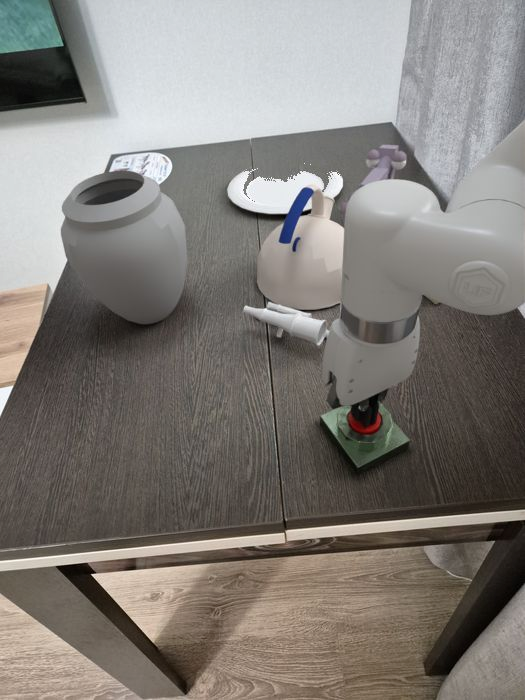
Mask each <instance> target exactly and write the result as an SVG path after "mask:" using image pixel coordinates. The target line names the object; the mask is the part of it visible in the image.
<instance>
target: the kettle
mask: <svg viewBox="0 0 525 700" xmlns="http://www.w3.org/2000/svg"><path fill="white" fill-rule="evenodd" d="M310 197H311V199H312V209H311V211H310V213H308V214H307V215H305V214H304V215H302V213H303V212H302V211H303V209H304V207H305V206H306V204H307V202H308V200H309V199H310ZM335 203H336V201H335V198H334V199H333V198H332V197H329V196H326V195H323V192H322V190H321V188H319V187H318V186H316V185H313V184H311V185H307V186H306V187H304V188H303V189H302V190H301V191H300V193H299V194H298V195H297V197H296V199H295V200H294V202H293V204H292V206H291V208H290V210H289V212H288V214H286V216H285V219H284V222H283V223H280V224H279V225H278V226H277V227H275V228H274V229H273V230H272V231H271V232H270V234H269V235H268V236H267V237H266V239H265V240H264V241H263V242H262V245H261V247H260V250H259V252H258V255H257V261H256V284H257V286H258V289H259V291H260V292H261V294H262V295H263V296H264V297H265V298H266V299H268V300H269V301H270V302H272V303H274V304H277V305H279V304H280V305H281V306H284V307H288V308H291V309H294V310H298V311H314V310H321V309H325V308H327V309H328V308H331V307H333V306H335V305H337V304H340V298H341V283H342V262H343V244H344V227H343V226H342V225H340V224H339V223H337V222H335V221H333V220H331V216H332V211H333V207H334V204H335Z"/></svg>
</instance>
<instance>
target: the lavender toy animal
mask: <svg viewBox="0 0 525 700" xmlns="http://www.w3.org/2000/svg"><path fill="white" fill-rule="evenodd" d="M399 146H400V145H398V144H397V145H396V144H381V145H380V146H379V147H378V150H376V149H370V150H369V151H368V152H367V154H366V155H365V156H366V157H365V158H366V159H365V164H366V166H367V167H368V169H372V170H371V171H370V172H369V173H368V175H366V177H365V178H364V179H363V180H362V181H361V182H360V183H359V184H358V186H357V188H356V190H355V191H352V192H351V193H350V194H349V195H348V198H347V201H344V202H343V203H342V204H341V206H340V212H341V214H342V215H343V216H344V217H345V213H346V207H347V204H348V201H349V200H350V198H351V196H352V195H353V194H354V193H355V192H356V191H357V190H358V189H359V188H361V187H363V186H364V185H367V184H369V183H372V182H375V181H380V180H388V179H394V178H395V173H396V172H395V171H401V170H402V169H403V168H404V167H406V165H407V154H406V153H405V152H404V151H403V150H399Z"/></svg>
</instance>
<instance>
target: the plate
mask: <svg viewBox="0 0 525 700" xmlns="http://www.w3.org/2000/svg"><path fill="white" fill-rule="evenodd" d="M304 164H305V163H304ZM310 165H311V164H310ZM257 169H258V168H257ZM254 170H256V169H254ZM254 170H253V169H252V171H254ZM244 171H245V170H243V171H242V172H240V173H238V174H237V175H235V176H234V177H233V178H232V179H231V181H230V182H229V184H228V186H227V187H226V188H227V189H226V191H227V197H228V199H229V200H230V201H231V202H232V203H233V205H235V206H237V207H238V208H240V209H243V210H245V211H248V212H251V213H255V214H261V215H262V214H263V215H274V216H275V215H287V214H288V212H289V210H290V208H291V206H292V204H293V202H294V200H295V199H296V197H297V195H298V194H299V193H300V191H301V190H302V189H303V188H304V187H306V186H307V185H311V184H313V185H316V186H318V187H319V188H321V190H323V189H324V183H323V181H322V179H321V178H320V177H318V176H316V175H315V174H312V173H309V172H306V171H303V172H302V171H300V173H301V174H299V173H298V174H297V176H295V175H294V176H293V179H291V177H290V179H289V177H288V179H287V180H288V181H287V182H284V181H283V180H282V181H281V179H274V178H273V179H272V177H271V179H272V181H271V179H270V178H269V179H270V181H269V180H268V181H267V179H268V178H267V179H266V178H263V177H262V178H261V177H260V176H259V177H257V178H256V179H254V180H253V181H251V182H250V183H249V185H248V186H247V189H246V193H247V196H248V197H249V198H250V199H249V198H248V197H247V196H246V195H245V194H244V191H243V189H244V184H245V182H246V181H247V178H248V176H249V175H248V174H249V173H250V172H252V171H250V172H249V171H245V172H244ZM331 172H332V171H331ZM337 172H338V171H337ZM337 172H332V173H330V172H329V173H330V175H331V177H330V176H328V177H329V178H328V179H329V183H328V185H327V187H326V189H325V190H324V192H323V195H326V196H329V197H332V198H333V199H334V200H335V198H336V197H337V196H339V194H340V193H341V191H342V189H343V187H344V179H343V176H342V175H341V173H340V172H339V173H340V174H339V173H338V174H339V175H338V174H337ZM250 174H251V173H250ZM327 174H328V173H327ZM332 174H333V175H332ZM340 175H341V176H340ZM291 176H292V175H291ZM331 178H332V179H331ZM264 179H266V181H265V180H264ZM294 179H295V180H294ZM273 180H275V181H276V182H275V181H273ZM252 200H253V201H252ZM254 201H255V202H254ZM310 210H312V199H311V197H310V199H309V200H308V202H307V204H306V206H305V207H304V209H303V211H302V213H303V212H307V211H310Z"/></svg>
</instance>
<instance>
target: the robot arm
mask: <svg viewBox="0 0 525 700" xmlns="http://www.w3.org/2000/svg"><path fill="white" fill-rule="evenodd" d="M355 191H356V192H355V193H354V194H353V195H352V196H351V198H350V200H349V201H348V200H347V201H348V204H347V207H346V213H345V216H344V227H343V228H344V244H343V262H342V283H341V298H340V303H339V317H337V318H336V319H335V320H333V321H332V323H331V326H330V328H329V330H330V331H329V334H328V337H327V338H326V341H325V346H324V351H323V358H322V364H321V381H322V383H323V385H324V387H327V386H330V388H329V391H328V395H327V397H326V403H327V404H328V405H329V407H330V408H331V410H333V409H336V408H339V407H343V406H351V415H352V417H353V418H354V420H355V421H356V422H358V421H359V422H360V423H361V424H362V426H363V427H364V428H367V427H369V425H373V424H375V423H376V421H377V415H378V410H379V403H381V404H382V403H383V402H384V401H385V400H386V398H387V395H388V393H389V389H390V388H392V387H394V386H396V385H398V384H400V383H402V382H404V381H405V380H407V379H408V378H410V376H411V375H412V373H413V371H414V369H415V365H416V362H417V357H418V354H419V347H420V338H421V337H420V335H421V324H420V316H419V313H420V307H421V303H422V300H423V296H424V297H426V296H427V297H429V298H431V299H434V300H436V301H438V302H440V303H439V304H443V305H445V306H447V307H450V308H453V309H456V310H458V311H461V312H465V313H467V314H472V315H480V316H497V315H502V314H507V313H509V312H512V311H514V310H516V309H518V308H520V307H521V306H523V305H524V304H525V119H524V120H523V121H521V122H520V123H519V124H518V125H517V126H516V127H515V128H514V129H513V130H512V131H511V132H509V133H508V135H506V136H505V137H504V139H502V140H501V141H500V142H499V143H498V144H497V145H496V146H495V147H494V148H493V149H492V150H490V151H489V152H488V153H487V154H486V155H485V156H484V157H483V158H482V159H481V160H480V161H479V162H478V163H477V164H476V165H475V166H473V168H472V169H471V170H470V171H469V172H468V173H467V174H466V175H465V176H464V177H463V178H462V180H461V181H460V183H458V185H457V187H456V188H455V190H453V192H452V195H451V196H450V199H449V201H448V203H447V206H446V209H445V211H443V210H442V209H441V204H440V202H439V199H438V197H437V196H436V194H435V193H434V192H433V191H432V190H431V189H429V188H428V187H427V186H424V185H423V184H421V183H419V182H415V181H411V180H407V179H398V178H395V179H394V178H393V179H388V180H380V181H375V182H372V183H369V184H367V185H364V186H363V187H361V188H359V189H358V190H357V189H356V190H355ZM427 297H426V298H427Z"/></svg>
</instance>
